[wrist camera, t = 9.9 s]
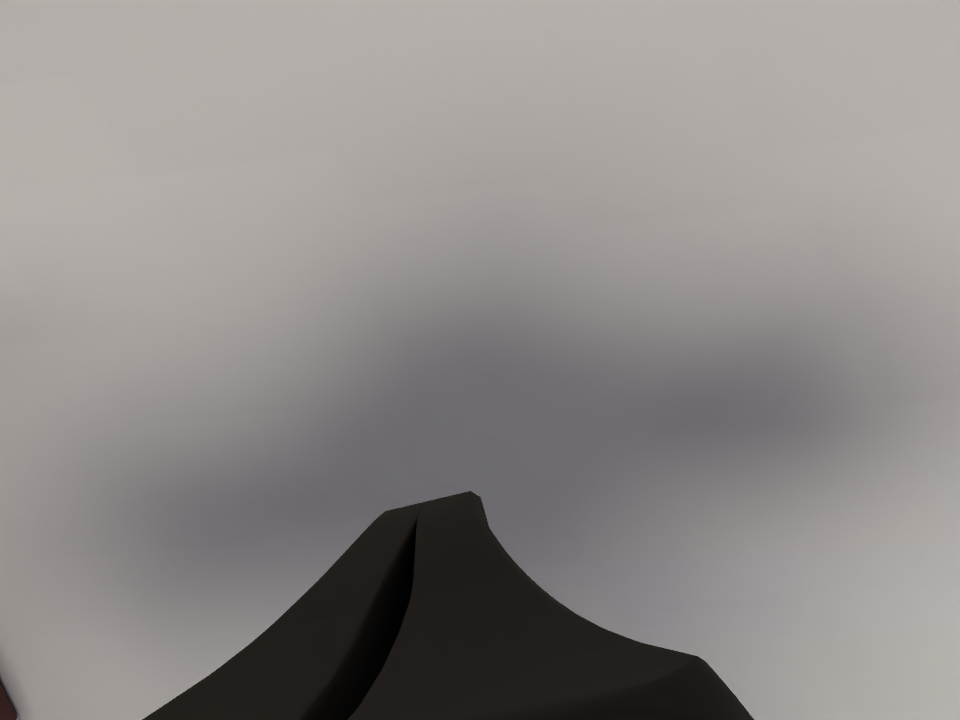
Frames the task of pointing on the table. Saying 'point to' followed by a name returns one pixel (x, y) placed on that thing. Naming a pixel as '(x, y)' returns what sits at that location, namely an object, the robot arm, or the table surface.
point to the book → (6, 707)
